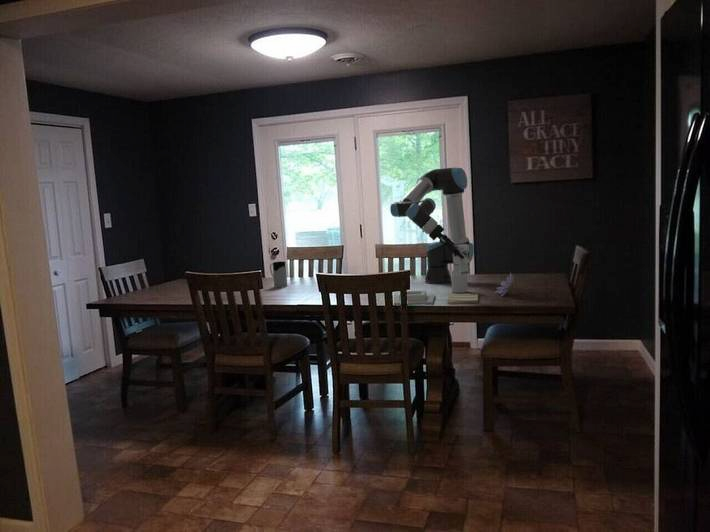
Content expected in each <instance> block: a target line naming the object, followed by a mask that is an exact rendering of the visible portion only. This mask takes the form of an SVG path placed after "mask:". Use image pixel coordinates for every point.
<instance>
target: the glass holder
mask: <svg viewBox="0 0 710 532" xmlns="http://www.w3.org/2000/svg"><path fill="white" fill-rule="evenodd" d="M269 269H270V270H269V271H270V274H271V276H272V278H273V288H274V287H285V288H287V287H286V286H288V287H289V285H288V279H287V267H286V261H275V262H274V261H273V262H272V263H270V265H269Z"/></svg>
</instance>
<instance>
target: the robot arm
mask: <svg viewBox="0 0 710 532" xmlns="http://www.w3.org/2000/svg"><path fill="white" fill-rule="evenodd" d="M467 188H468V177H467V173H466V171H465V170H464V169H463V168H462V167H455V166H454V167H445V168H436V169H432V170H430V171H428V172H426V173H424V174H423V175H421V176H420V177H419V178H418V179H417V181H416V184H415V185H414V186H413V187H412V188H411V189H410V190H409V191H408V192H407V193H406V194H405V195H404V197H402V198H401V199H400V201H394V202H392V203H391V204H390V207H389V208H390V209H389V211H390V214H391V215H392V217H395V218H397V217H398V218H404V217H407V218H409V220H410V221H411V222H413V223H414V224H415V225H416V226H418V228H420V229H421V230H422V233H425V234H426V235H428V237H429V238H430V239H431V240H432V241H433V242H430V243H428V244H427V245H426V262H427V263H426V264H427V270H426V273H425V279H424V283H426V282H429V283H428V284H431V283H440V284H446V283H445V282H448V283H451V282H452V275H451V272H450V270H449V265H453V254H454V256H457V257H458V258H459V259H461V260H462V261H463V262H464V263H465V264H466V265H467V264H468V263H469V262H470V263H471V262H472V260H473V257H474V253H475V246H474V244H473V242H470V239H469V238H468V236H467V234H466V233H467V232H466V222H465V212H464V201H463V194H464V193H465V189H467ZM434 191H442V195H443V196H444V197H445V199H446V208H447V218H448V226H449V227H448V228H449V235H450V236H449V237H448V235H447V234H443V232H444V230H445V228H444V227H443V226H442V225H441V224H438V222H437V220H435V218H433V217H432V214H433V213H434V211H435V209H436V208H437V207H436V206H437V205H436V202H435V200H434V199H433V198H431V197H427V198H424V197H425V196H426V195H427V194H430V193H431V192H434ZM423 198H424V199H423ZM437 238H438V241H435V240H437ZM458 244H468V245H469V259H468V258H467V257H466V256H465V255H464V254H463V253H462V252H461V251H459V250H458V249H457V248H456V247H455V246H454V245H458ZM450 281H451V282H450Z"/></svg>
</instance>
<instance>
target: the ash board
mask: <svg viewBox="0 0 710 532" xmlns="http://www.w3.org/2000/svg"><path fill="white" fill-rule="evenodd" d="M448 304H449V305H455V304H456V305H459V304H463V305H464V304H465V305H466V304H479V294H478V293H449V294H448V297H447V305H448Z"/></svg>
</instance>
